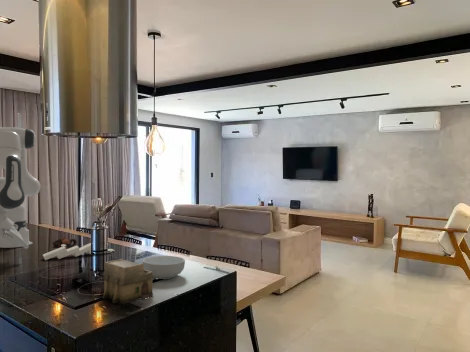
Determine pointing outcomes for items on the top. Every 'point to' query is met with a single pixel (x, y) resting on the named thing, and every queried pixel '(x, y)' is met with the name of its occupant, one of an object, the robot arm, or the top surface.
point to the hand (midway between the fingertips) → (27, 247)
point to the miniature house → (126, 281)
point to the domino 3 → (82, 250)
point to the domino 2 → (69, 252)
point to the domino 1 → (54, 253)
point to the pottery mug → (64, 241)
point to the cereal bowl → (164, 266)
